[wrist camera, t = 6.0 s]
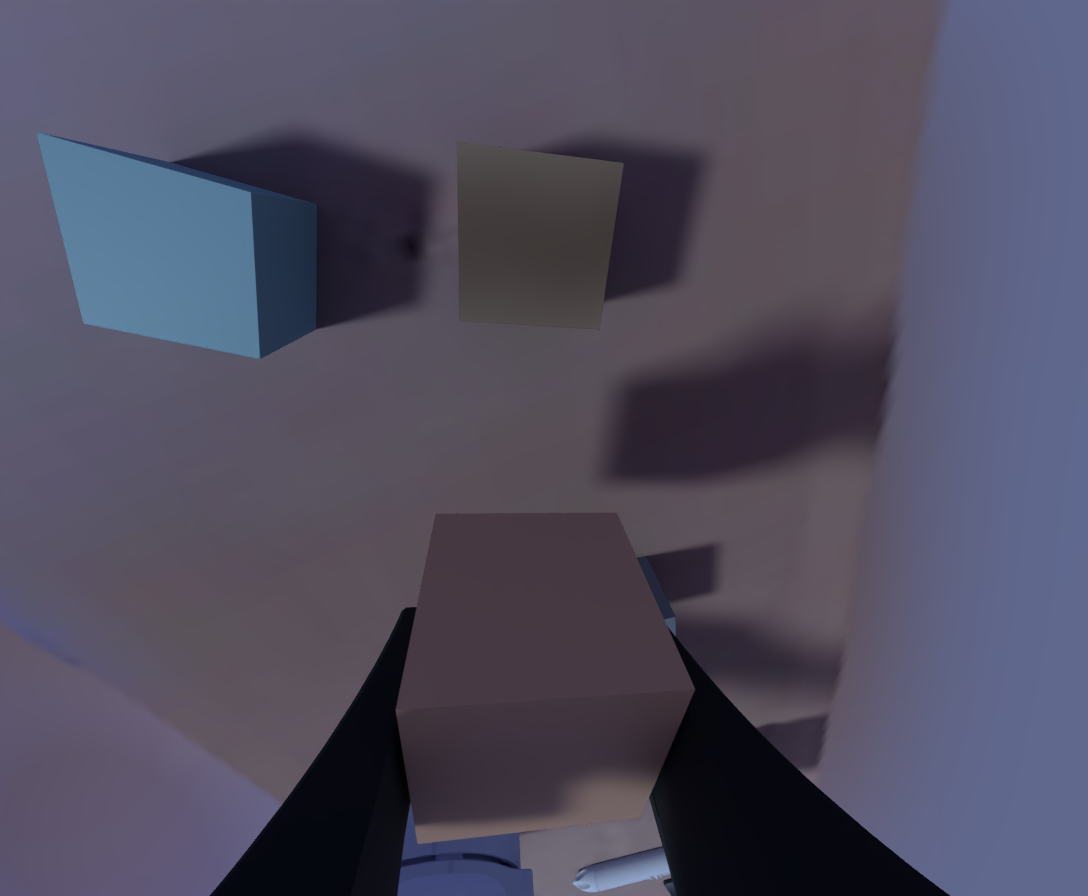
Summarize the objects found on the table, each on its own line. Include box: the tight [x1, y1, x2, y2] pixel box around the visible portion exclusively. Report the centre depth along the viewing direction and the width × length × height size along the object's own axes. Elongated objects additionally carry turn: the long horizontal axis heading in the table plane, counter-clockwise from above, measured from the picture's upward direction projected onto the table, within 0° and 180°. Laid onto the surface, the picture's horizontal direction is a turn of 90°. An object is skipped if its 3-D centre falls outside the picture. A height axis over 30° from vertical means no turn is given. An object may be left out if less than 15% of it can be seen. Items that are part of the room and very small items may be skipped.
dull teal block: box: [37, 132, 317, 359], centre depth 11 cm, size 4×4×4 cm
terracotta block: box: [396, 513, 695, 844], centre depth 10 cm, size 5×5×5 cm
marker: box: [573, 847, 670, 892], centre depth 42 cm, size 18×2×2 cm, turn 104°
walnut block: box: [457, 142, 624, 330], centre depth 12 cm, size 4×4×4 cm
